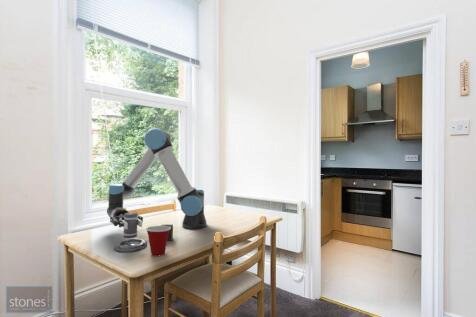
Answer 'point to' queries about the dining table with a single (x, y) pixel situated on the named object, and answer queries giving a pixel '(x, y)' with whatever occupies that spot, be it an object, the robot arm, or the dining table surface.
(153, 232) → the plastic cup
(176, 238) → the dining table surface
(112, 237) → the dining table surface
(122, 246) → the mount plate
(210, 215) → the dining table surface
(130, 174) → the robot arm
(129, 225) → the lens
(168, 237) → the box
